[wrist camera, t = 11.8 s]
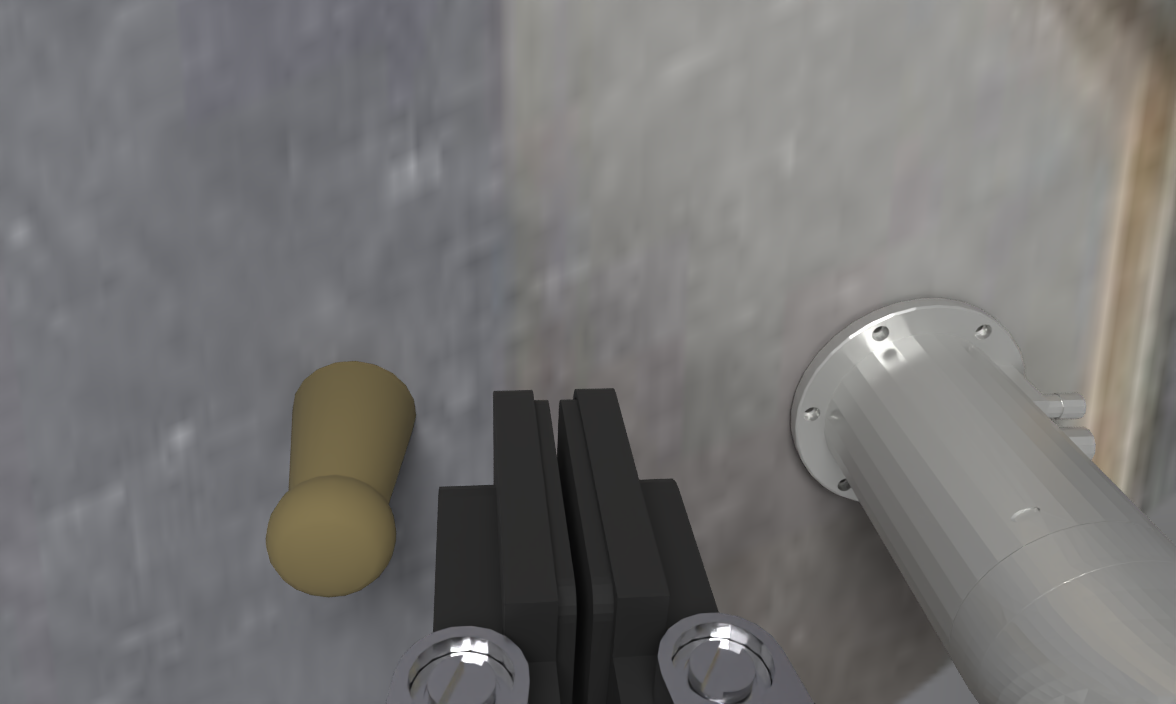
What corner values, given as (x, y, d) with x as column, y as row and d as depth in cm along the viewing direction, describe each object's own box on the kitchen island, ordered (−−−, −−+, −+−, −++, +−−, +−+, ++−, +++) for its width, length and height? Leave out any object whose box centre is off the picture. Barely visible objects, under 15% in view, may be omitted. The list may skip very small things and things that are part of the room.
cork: (274, 375, 44) (223, 525, 35) (396, 349, 44) (378, 491, 35) (315, 472, 47) (279, 633, 38) (429, 447, 47) (421, 602, 38)
